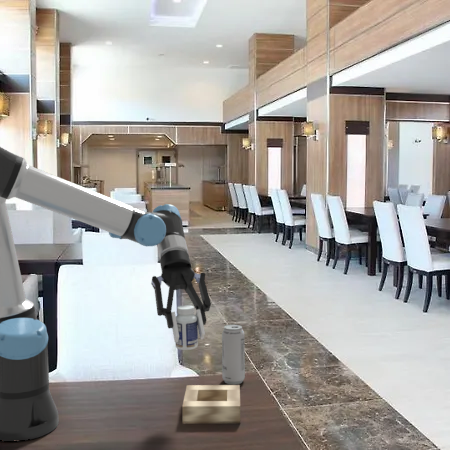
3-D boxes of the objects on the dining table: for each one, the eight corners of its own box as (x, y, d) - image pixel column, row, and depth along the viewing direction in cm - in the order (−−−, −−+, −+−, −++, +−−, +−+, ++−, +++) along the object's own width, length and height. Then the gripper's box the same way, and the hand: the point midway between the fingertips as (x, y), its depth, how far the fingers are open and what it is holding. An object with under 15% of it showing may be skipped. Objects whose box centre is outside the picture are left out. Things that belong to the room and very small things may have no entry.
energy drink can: (222, 377, 161) (222, 323, 159) (244, 377, 161) (244, 323, 159) (221, 385, 155) (221, 329, 153) (244, 385, 155) (244, 329, 153)
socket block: (182, 423, 131) (182, 406, 131) (187, 400, 144) (186, 385, 144) (240, 423, 131) (240, 406, 131) (239, 400, 144) (239, 385, 144)
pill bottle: (199, 343, 141) (198, 304, 140) (196, 350, 136) (195, 309, 135) (177, 343, 142) (176, 304, 141) (173, 350, 136) (172, 309, 135)
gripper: (207, 263, 154) (225, 341, 140) (137, 268, 149) (149, 349, 135) (211, 245, 149) (231, 325, 135) (139, 250, 144) (151, 333, 130)
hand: (189, 337), depth 135 cm, fingers closed on pill bottle, 5 cm apart
